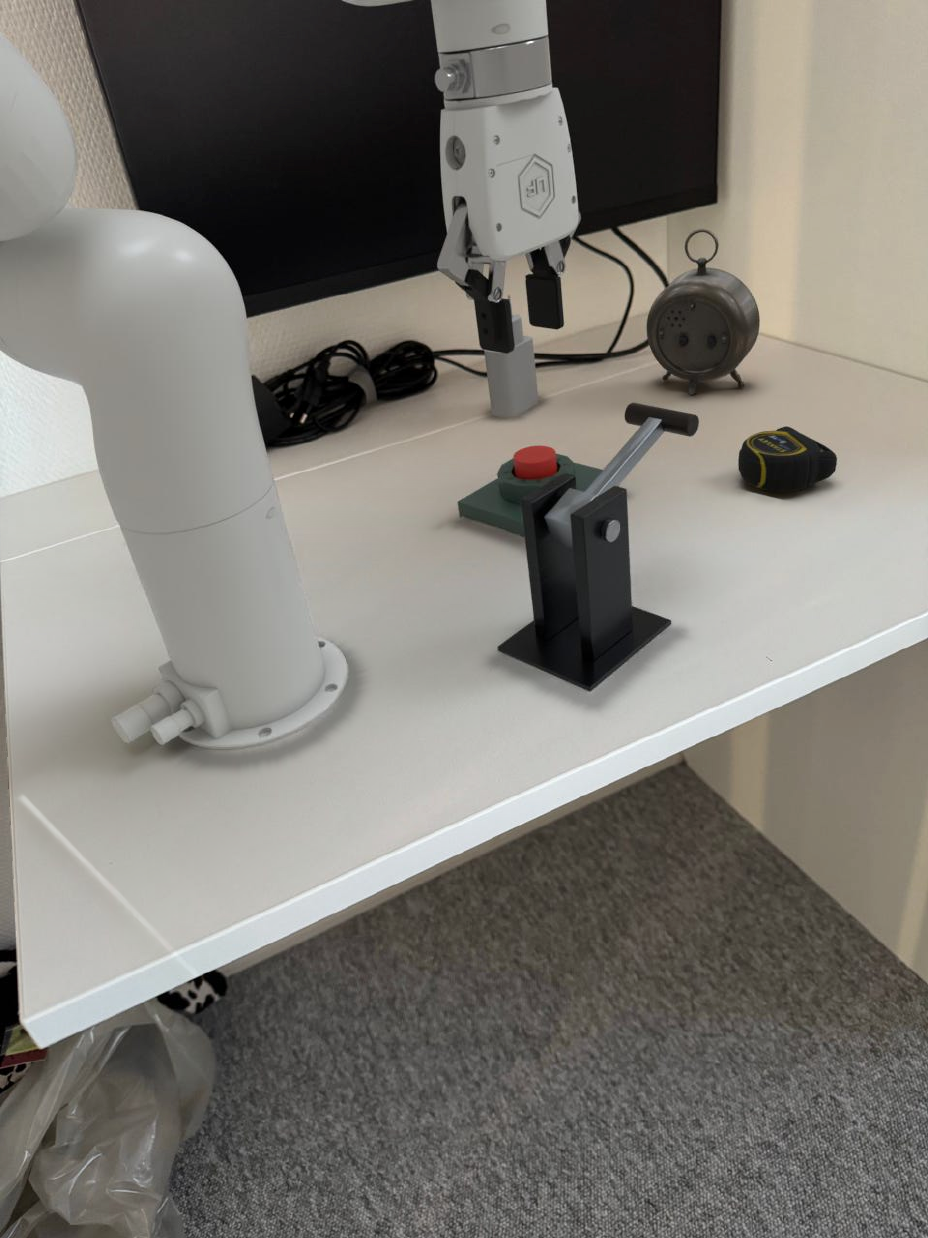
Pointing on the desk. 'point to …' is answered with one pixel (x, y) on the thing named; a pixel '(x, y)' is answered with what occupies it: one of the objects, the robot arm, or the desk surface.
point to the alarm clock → (703, 323)
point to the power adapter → (512, 375)
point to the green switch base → (516, 494)
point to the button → (535, 462)
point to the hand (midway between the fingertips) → (522, 335)
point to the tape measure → (784, 460)
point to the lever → (620, 462)
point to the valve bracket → (580, 590)
